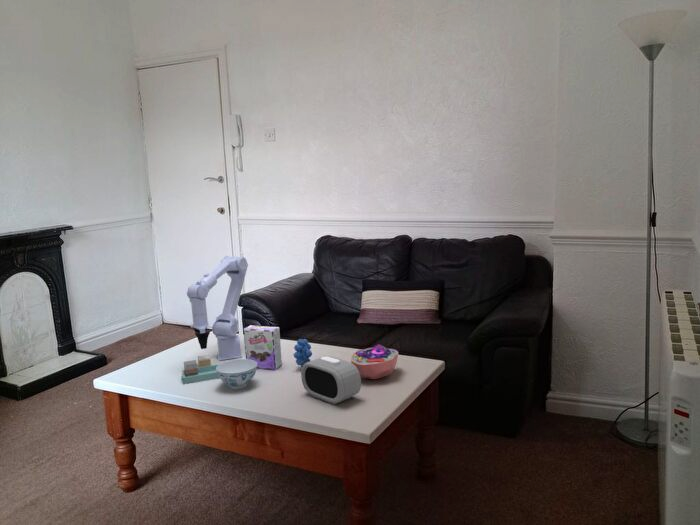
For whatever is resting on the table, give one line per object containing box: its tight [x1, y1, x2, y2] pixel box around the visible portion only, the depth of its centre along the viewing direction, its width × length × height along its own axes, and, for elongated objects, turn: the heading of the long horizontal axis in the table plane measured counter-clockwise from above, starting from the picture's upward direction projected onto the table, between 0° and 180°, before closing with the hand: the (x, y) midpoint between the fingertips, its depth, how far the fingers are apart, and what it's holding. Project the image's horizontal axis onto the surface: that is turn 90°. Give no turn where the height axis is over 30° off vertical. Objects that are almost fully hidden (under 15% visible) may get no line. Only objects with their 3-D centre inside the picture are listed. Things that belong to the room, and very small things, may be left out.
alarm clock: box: [300, 355, 362, 405], centre depth 198 cm, size 21×10×13 cm, turn 45°
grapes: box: [293, 338, 313, 368], centre depth 229 cm, size 12×7×12 cm, turn 155°
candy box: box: [242, 324, 283, 371], centre depth 232 cm, size 14×6×16 cm, turn 68°
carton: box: [197, 354, 212, 368], centre depth 235 cm, size 5×5×5 cm
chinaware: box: [216, 358, 258, 390], centre depth 213 cm, size 15×15×8 cm
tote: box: [181, 363, 220, 385], centre depth 225 cm, size 15×9×2 cm, turn 110°
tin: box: [183, 359, 199, 377], centre depth 223 cm, size 5×5×6 cm
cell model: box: [350, 344, 399, 380], centre depth 215 cm, size 17×20×11 cm
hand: (202, 345), depth 234 cm, fingers open, 7 cm apart
